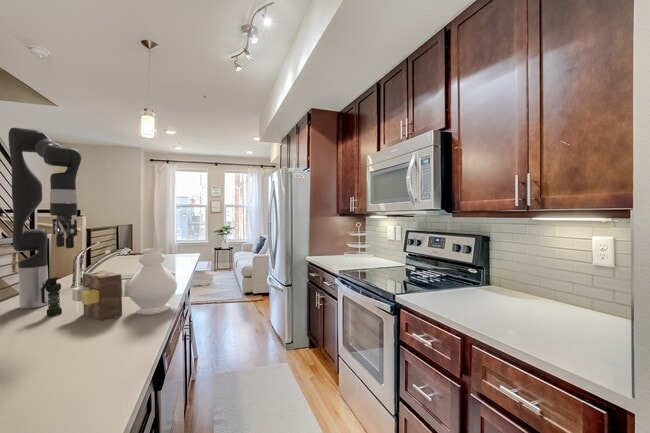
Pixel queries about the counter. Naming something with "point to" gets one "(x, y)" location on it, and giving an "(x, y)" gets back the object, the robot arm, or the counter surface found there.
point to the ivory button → (78, 293)
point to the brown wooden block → (104, 294)
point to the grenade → (52, 296)
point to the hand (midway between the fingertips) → (65, 247)
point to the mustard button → (90, 296)
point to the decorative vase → (152, 283)
